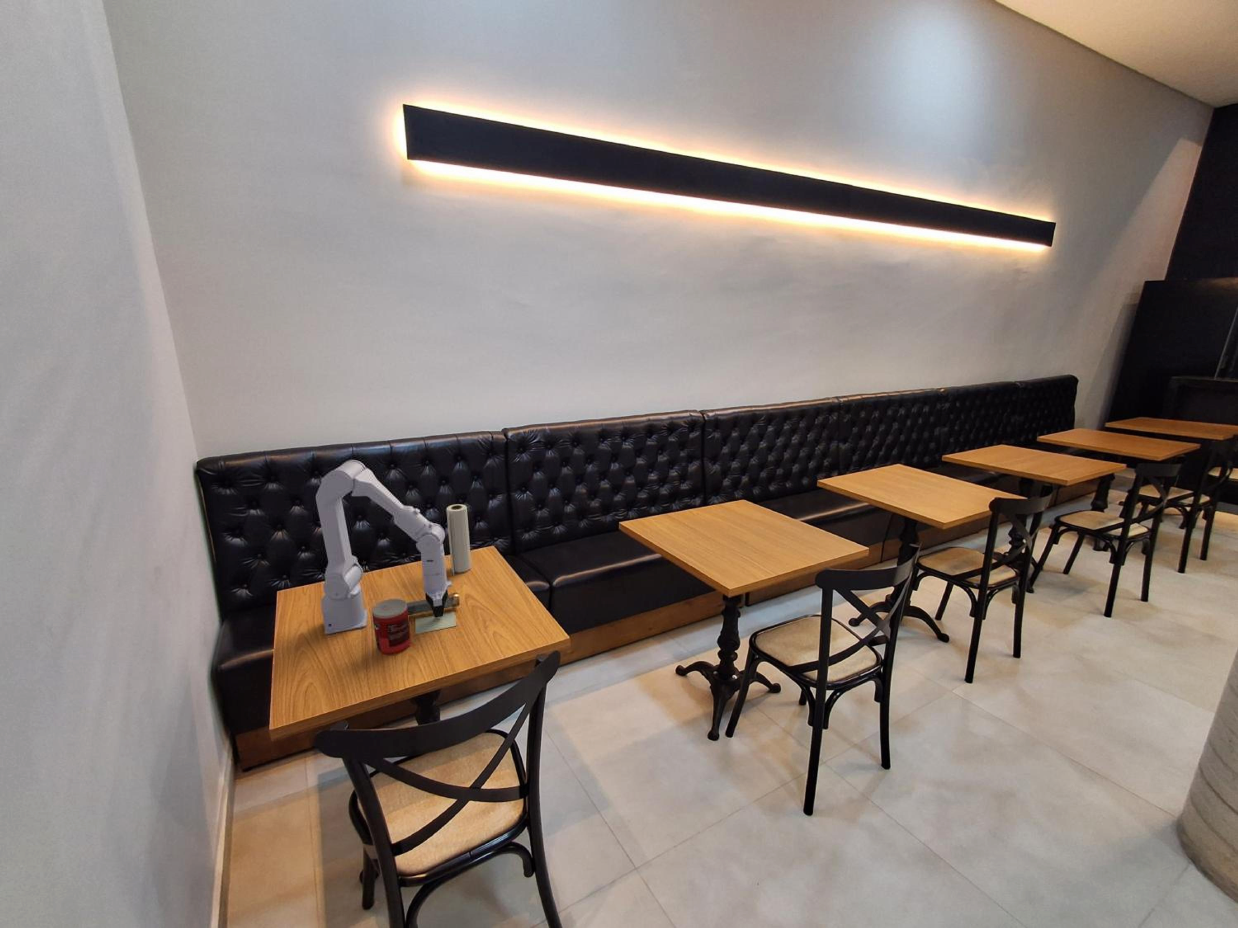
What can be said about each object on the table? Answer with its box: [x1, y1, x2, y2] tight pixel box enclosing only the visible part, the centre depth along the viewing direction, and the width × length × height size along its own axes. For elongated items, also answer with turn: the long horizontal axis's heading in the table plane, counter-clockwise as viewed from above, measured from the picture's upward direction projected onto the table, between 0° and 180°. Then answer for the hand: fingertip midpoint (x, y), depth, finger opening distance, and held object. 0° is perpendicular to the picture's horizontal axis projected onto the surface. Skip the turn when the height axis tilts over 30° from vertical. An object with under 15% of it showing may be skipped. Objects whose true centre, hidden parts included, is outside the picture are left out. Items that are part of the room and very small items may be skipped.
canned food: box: [371, 598, 412, 656], centre depth 124 cm, size 8×8×11 cm
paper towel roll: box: [445, 503, 472, 576], centre depth 160 cm, size 7×6×21 cm
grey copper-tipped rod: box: [406, 592, 461, 616], centre depth 138 cm, size 18×3×3 cm, turn 112°
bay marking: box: [414, 611, 457, 635], centre depth 135 cm, size 10×7×1 cm
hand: (438, 615), depth 136 cm, fingers closed
